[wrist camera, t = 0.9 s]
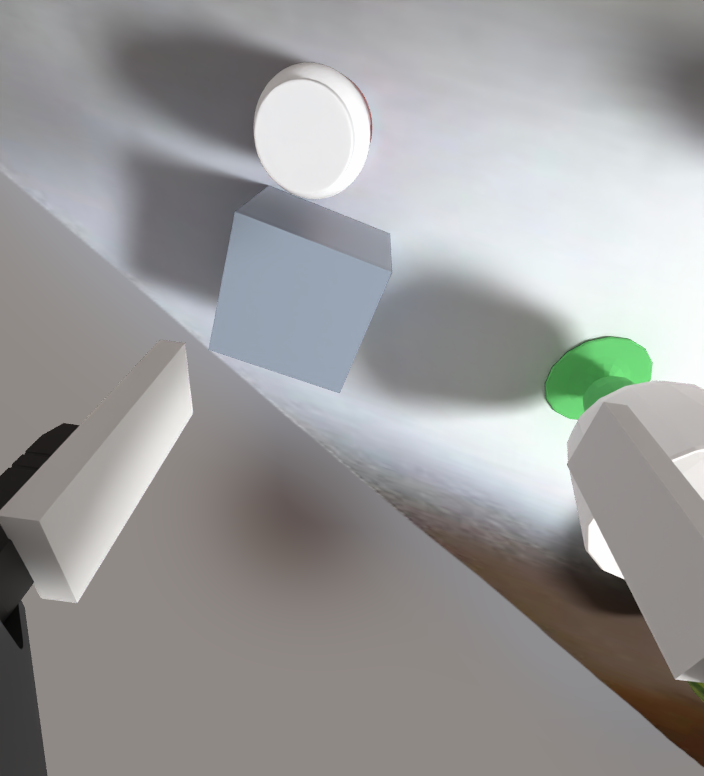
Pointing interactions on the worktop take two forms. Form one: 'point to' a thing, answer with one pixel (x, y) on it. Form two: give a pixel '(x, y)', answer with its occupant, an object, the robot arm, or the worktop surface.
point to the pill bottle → (312, 130)
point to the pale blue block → (299, 288)
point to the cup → (646, 400)
